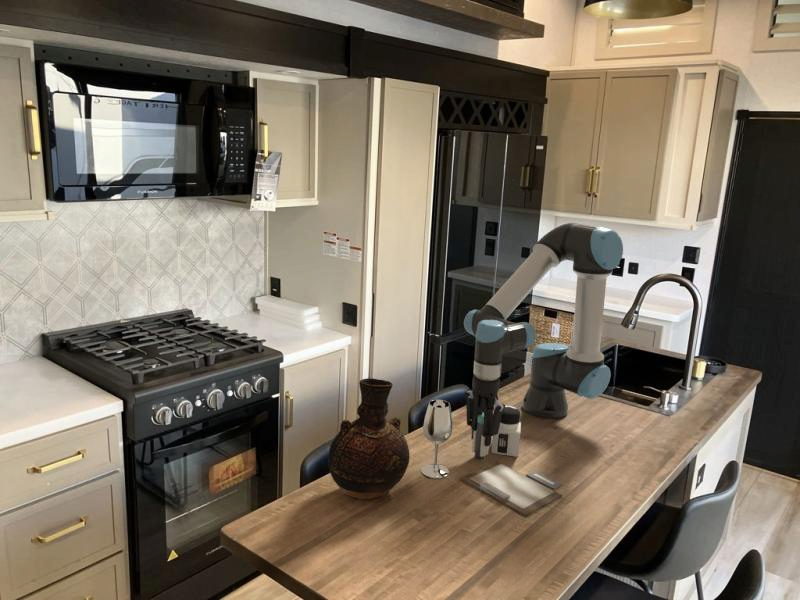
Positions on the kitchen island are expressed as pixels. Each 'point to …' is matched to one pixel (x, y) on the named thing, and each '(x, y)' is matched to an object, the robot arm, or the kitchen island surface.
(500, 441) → the container
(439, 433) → the wineglass
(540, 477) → the plate
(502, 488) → the clipboard
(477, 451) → the marker
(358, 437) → the ceramic vessel
